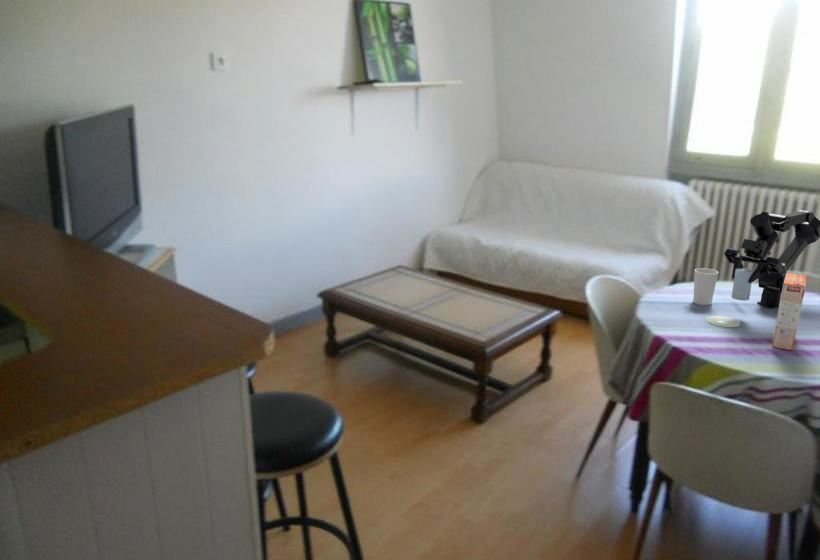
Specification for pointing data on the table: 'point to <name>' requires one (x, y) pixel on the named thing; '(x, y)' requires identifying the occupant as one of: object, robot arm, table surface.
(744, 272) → the grey cylinder
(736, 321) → the mat
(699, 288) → the cup
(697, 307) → the table surface
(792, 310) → the cracker box
